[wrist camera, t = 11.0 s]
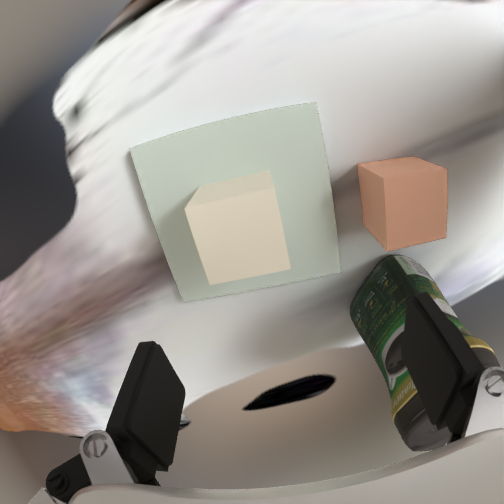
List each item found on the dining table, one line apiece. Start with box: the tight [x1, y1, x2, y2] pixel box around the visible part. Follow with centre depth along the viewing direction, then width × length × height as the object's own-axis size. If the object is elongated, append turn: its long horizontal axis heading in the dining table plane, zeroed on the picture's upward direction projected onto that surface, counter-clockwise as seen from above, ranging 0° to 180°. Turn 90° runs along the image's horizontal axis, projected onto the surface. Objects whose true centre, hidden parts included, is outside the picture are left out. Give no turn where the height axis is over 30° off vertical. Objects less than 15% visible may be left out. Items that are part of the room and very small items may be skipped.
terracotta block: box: [357, 156, 448, 252], centre depth 23 cm, size 6×6×6 cm
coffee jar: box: [350, 255, 500, 451], centre depth 22 cm, size 10×8×19 cm
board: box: [129, 102, 341, 302], centre depth 26 cm, size 16×16×1 cm
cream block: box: [184, 171, 291, 285], centre depth 23 cm, size 6×6×6 cm
